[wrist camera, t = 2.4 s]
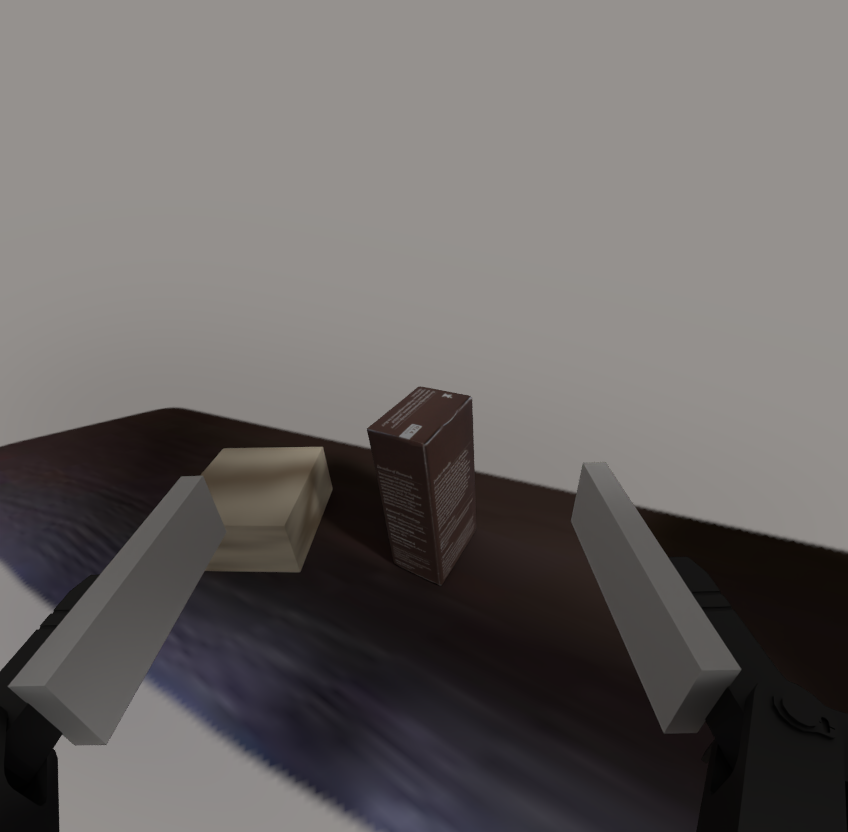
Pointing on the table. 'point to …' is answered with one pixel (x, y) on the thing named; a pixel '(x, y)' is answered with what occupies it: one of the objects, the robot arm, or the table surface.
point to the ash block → (267, 506)
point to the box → (427, 479)
